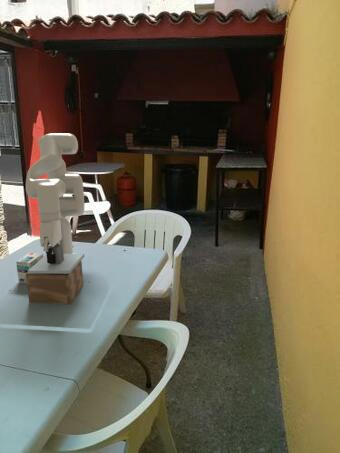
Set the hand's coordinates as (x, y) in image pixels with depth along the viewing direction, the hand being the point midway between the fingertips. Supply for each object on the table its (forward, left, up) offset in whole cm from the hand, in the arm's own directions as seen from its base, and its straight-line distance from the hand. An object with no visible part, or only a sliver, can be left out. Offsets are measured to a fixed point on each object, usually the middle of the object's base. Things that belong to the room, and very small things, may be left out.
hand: (54, 260), depth 136 cm
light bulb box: (-12, -16, -16) cm, 26 cm away
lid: (0, +1, -2) cm, 2 cm away
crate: (0, 0, -15) cm, 15 cm away
